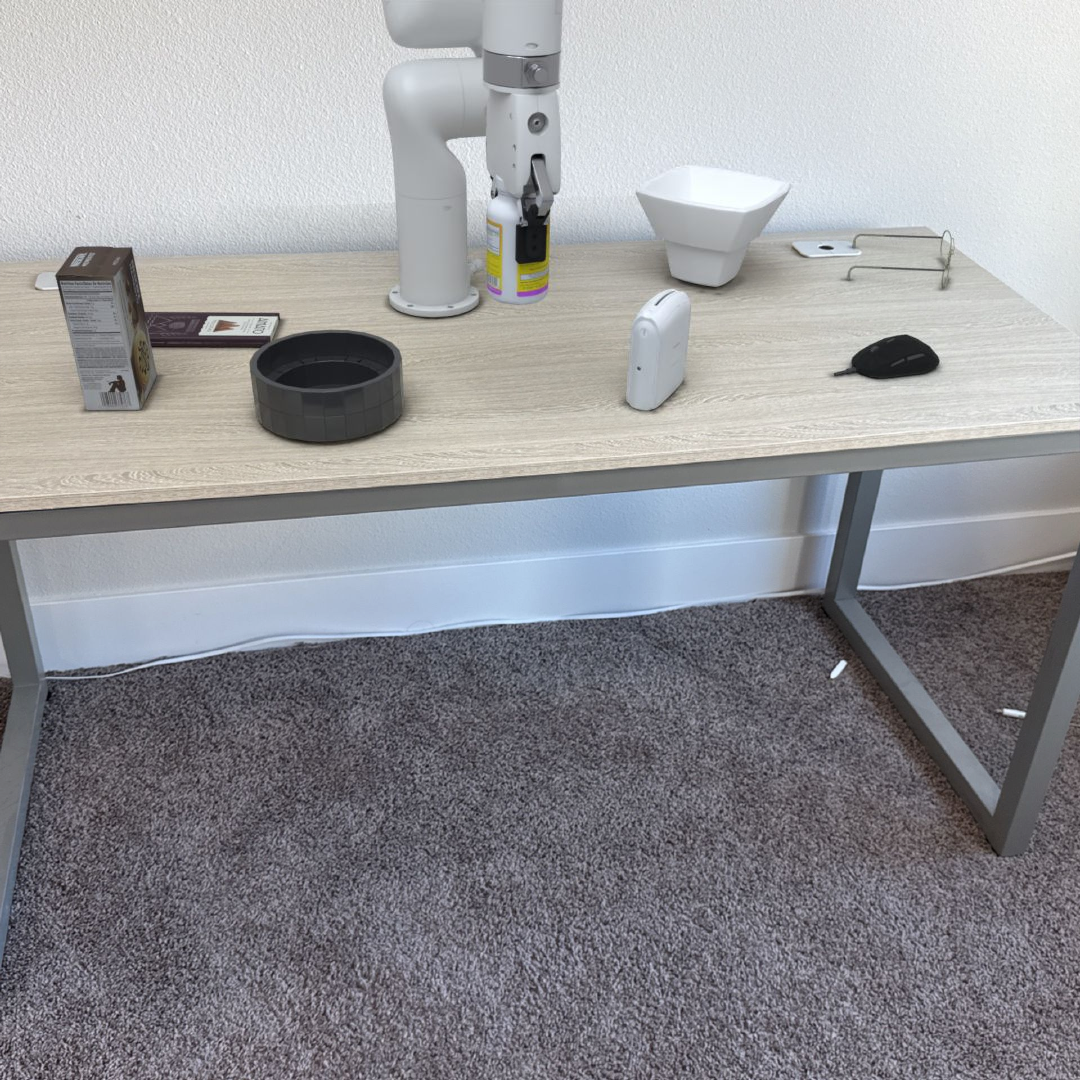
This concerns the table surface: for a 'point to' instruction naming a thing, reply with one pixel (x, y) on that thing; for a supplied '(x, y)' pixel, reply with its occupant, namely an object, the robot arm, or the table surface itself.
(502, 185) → the supplement bottle
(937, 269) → the eyeglasses
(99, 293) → the coffee box
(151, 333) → the chocolate bar
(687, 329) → the photo printer
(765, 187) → the bowl
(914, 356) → the gaming mouse
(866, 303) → the table surface
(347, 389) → the black bowl
